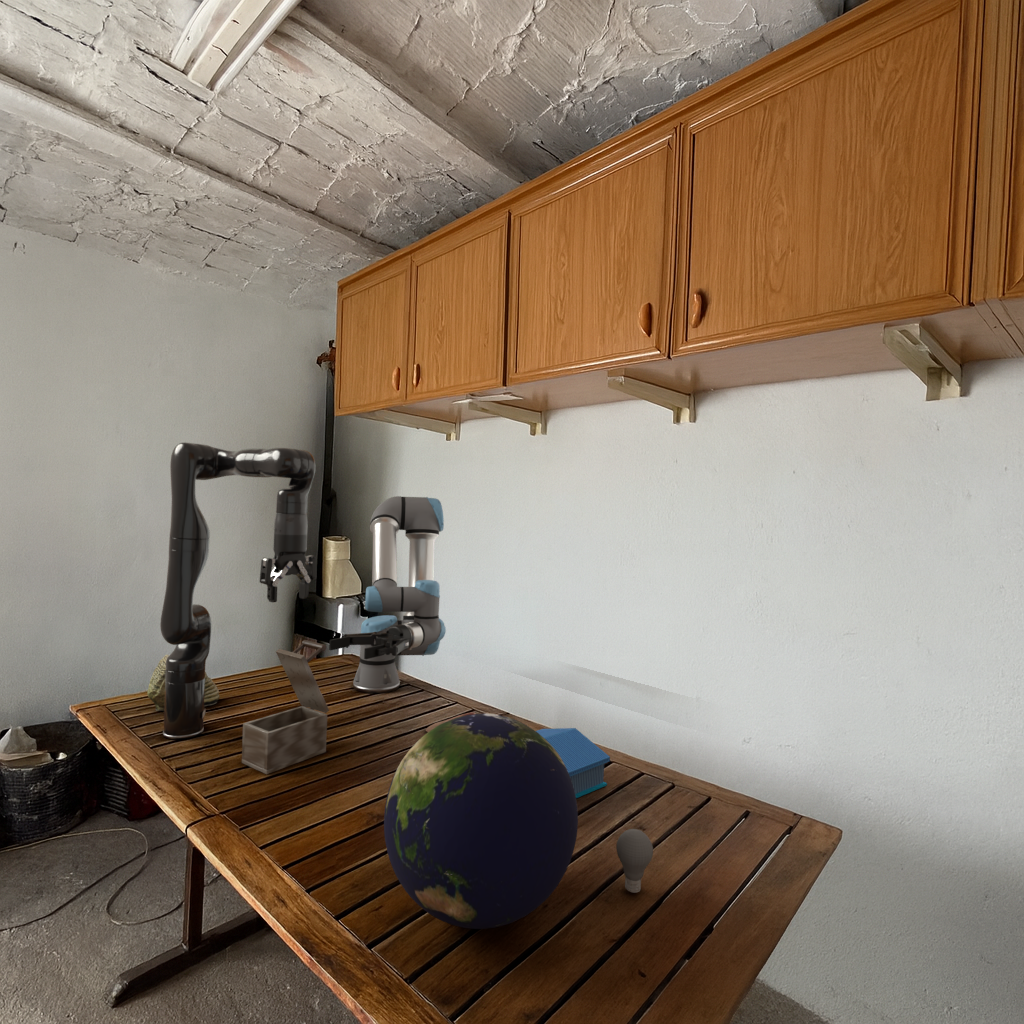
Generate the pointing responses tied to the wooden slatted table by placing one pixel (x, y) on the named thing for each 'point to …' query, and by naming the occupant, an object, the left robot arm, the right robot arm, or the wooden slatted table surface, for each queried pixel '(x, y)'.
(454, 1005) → the wooden slatted table surface
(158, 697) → the fossil
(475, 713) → the anatomical model
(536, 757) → the globe
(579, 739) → the model building
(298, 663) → the lid
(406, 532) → the right robot arm
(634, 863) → the light bulb
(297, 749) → the chest
